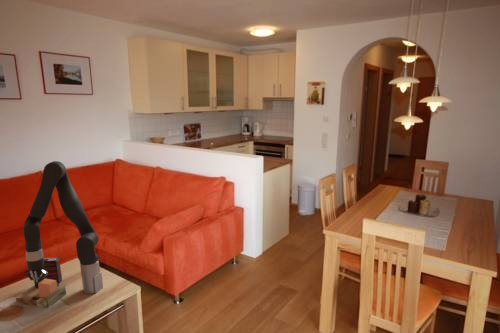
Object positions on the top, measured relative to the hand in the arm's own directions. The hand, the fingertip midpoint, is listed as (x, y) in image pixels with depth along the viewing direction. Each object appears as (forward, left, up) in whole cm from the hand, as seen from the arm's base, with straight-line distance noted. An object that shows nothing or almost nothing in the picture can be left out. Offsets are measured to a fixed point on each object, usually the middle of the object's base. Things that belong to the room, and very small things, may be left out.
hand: (38, 287), depth 172 cm
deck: (-1, 0, -7) cm, 7 cm away
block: (-6, 0, -4) cm, 7 cm away
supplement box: (+4, -13, -7) cm, 15 cm away
